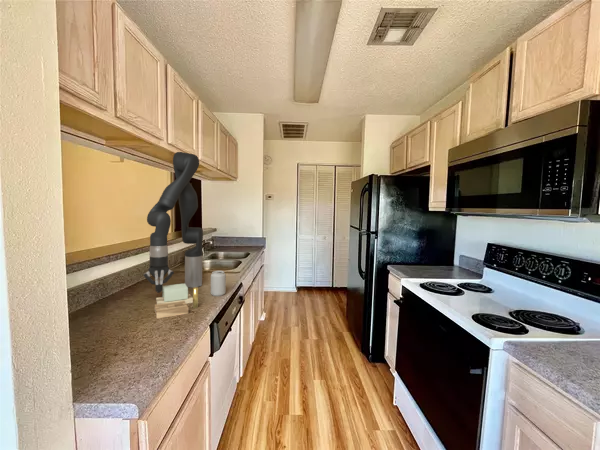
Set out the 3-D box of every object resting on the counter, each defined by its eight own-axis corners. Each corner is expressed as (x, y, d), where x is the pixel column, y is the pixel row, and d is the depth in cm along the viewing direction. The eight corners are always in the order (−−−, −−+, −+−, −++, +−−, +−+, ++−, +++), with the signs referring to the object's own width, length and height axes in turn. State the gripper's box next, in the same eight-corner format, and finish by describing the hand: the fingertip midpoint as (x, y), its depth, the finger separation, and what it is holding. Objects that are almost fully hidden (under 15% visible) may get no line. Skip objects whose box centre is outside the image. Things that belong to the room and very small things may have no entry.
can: (227, 292, 148) (227, 270, 148) (222, 297, 141) (222, 273, 140) (214, 291, 149) (214, 269, 148) (208, 296, 142) (208, 272, 141)
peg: (192, 307, 126) (192, 287, 126) (197, 306, 127) (197, 286, 127) (193, 308, 124) (193, 288, 124) (198, 307, 125) (198, 288, 125)
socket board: (154, 310, 121) (154, 304, 121) (184, 306, 127) (184, 300, 127) (156, 318, 112) (156, 312, 112) (188, 313, 119) (188, 307, 118)
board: (156, 300, 133) (156, 292, 132) (189, 296, 140) (189, 288, 140) (158, 307, 124) (157, 298, 124) (193, 302, 132) (193, 294, 132)
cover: (162, 296, 133) (162, 285, 133) (184, 293, 138) (184, 283, 138) (164, 301, 126) (164, 290, 126) (187, 298, 131) (187, 287, 131)
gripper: (173, 252, 134) (173, 288, 135) (142, 254, 127) (142, 291, 128) (175, 255, 128) (175, 292, 129) (142, 257, 121) (142, 296, 122)
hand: (158, 292), depth 129 cm, fingers closed
